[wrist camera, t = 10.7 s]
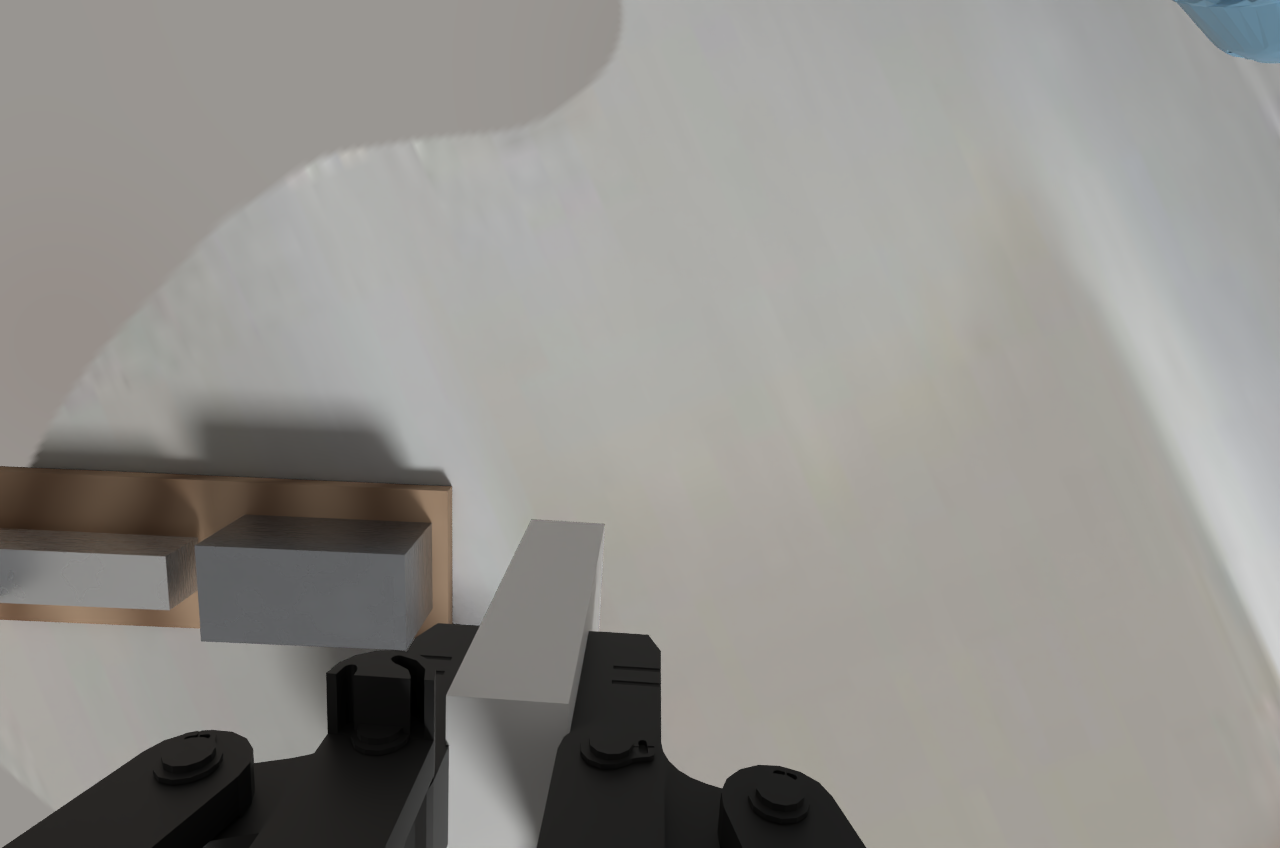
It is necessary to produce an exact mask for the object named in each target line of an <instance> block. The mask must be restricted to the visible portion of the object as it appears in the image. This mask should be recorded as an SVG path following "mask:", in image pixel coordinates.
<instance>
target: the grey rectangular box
mask: <svg viewBox="0 0 1280 848" xmlns="http://www.w3.org/2000/svg"><path fill="white" fill-rule="evenodd" d="M195 561H196V575H197V589H198V603H199V618H200V632H201V641H207V642H230V643H252V644H275V645H298V646H320V647H343V648H365V649H388V650H407V648H408V647H409V645H410V644H411V642H412V640H413V639H414V637H415V636H416V634H417V632H418V631H419V629H420V628H421V626H422V624H423V623H424V621H425V620H426V618H427V617H428V615H429V613H430V612H431V610H432V609H433V591H432V523H426V522H404V521H381V520H359V519H336V518H314V517H291V516H269V515H246V514H245V515H244V516H242V517H240V518H239V519H237V520H235V521H234V522H232V523H230V524H229V525H227V526H226V527H224V528H222V529H221V530H219V531H217V532H216V533H214V534H213V535H211V536H209V537H208V538H206V539H204V540H203V541H201V542H199V543H198V544H196V545H195Z"/></svg>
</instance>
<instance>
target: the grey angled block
mask: <svg viewBox="0 0 1280 848" xmlns="http://www.w3.org/2000/svg"><path fill="white" fill-rule="evenodd" d="M196 544H198V537H184V536H161V535H139V534H116V533H94V532H71V531H49V530H26V529H4V528H0V603H15V604H38V605H60V606H83V607H106V608H128V609H151V610H171V609H172V608H174V607H175V606H176V605H178V604H179V603H181V602H182V601H183V600H185V599H186V598H188V597H189V596H190V595H192V594H193V593H195V592H196V591H197V590H198V589H197V575H196V561H195V545H196Z"/></svg>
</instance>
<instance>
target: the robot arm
mask: <svg viewBox="0 0 1280 848" xmlns="http://www.w3.org/2000/svg"><path fill="white" fill-rule="evenodd" d="M1173 1H1175V2H1177V3H1178V4H1179V5H1180V7H1181V8H1182V9H1183V10H1184V11H1185V12H1186V13H1187V15H1188V16H1189V17H1190V18H1191V19H1192V20H1193V21H1194V23H1195V24H1196V25H1197V26H1198V27H1199V28H1200V29H1201V31H1202V32H1203V33H1204V34H1205V35H1206V36H1207V37H1208V39H1209V40H1210V41H1211V42H1212V43H1213V44H1214V45H1215V46H1216V47H1218V48H1219V49H1220V50H1222V51H1224V52H1225V53H1227V54H1229V55H1232V56H1235V57H1243V58H1246V59H1252V60H1254V61H1257V62H1261V63H1280V0H1173ZM604 532H605V524H597V523H582V522H567V521H552V520H537V519H531V521H530V523H529V525H528V528H527V530H526V532H525V534H524V536H523V538H522V540H521V542H520V544H519V546H518V548H517V550H516V552H515V554H514V556H513V558H512V561H511V563H510V565H509V567H508V569H507V571H506V573H505V575H504V577H503V579H502V581H501V583H500V585H499V587H498V589H497V591H496V593H495V596H494V598H493V600H492V602H491V604H490V606H489V608H488V610H487V612H486V614H485V616H484V618H483V620H482V622H481V624H480V626H474V625H460V624H445V623H437V624H436V625H434V626H433V627H431V628H429V629H428V630H426V631H425V632H423V633H422V634H420V635H419V636H417V637H416V638H415V640H414V641H413V643H412V644H411V646H410V648H409V649H408V651H407V652H405V651H400V650H386V651H374V652H369V653H364V654H360V655H356V656H353V657H351V658H349V659H346V660H344V661H342V662H340V663H338V664H337V665H336V666H334V667H333V668H332V669H331V670H330V671H328V672H327V673H326V680H327V720H328V734H327V736H326V737H325V738H324V740H323V741H322V743H321V744H320V746H319V747H318V749H317V750H316V752H315V753H313V754H310V755H305V756H300V757H296V758H290V759H282V760H275V761H268V762H261V763H254V758H253V748H252V746H251V745H250V743H249V741H248V740H247V738H245V737H242V736H240V735H238V734H236V733H234V732H228V731H217V730H205V731H200V732H198V731H195V732H190V733H186V734H183V735H180V736H177V737H174V738H171V739H168V740H164V741H162V742H161V743H159V744H157V745H155V746H153V747H151V748H149V749H147V750H146V751H144V752H142V753H141V754H139V755H138V756H136V757H135V758H133V759H132V760H130V761H129V762H127V763H126V764H124V765H123V766H121V767H120V768H119V769H117V770H116V771H114V772H113V773H111V774H110V775H108V776H107V777H105V778H104V779H102V780H101V781H99V782H98V783H96V784H95V785H94V786H92V787H91V788H89V789H88V790H86V791H85V792H83V793H82V794H80V795H79V796H77V797H76V798H74V799H73V800H71V801H70V802H69V803H67V804H66V805H64V806H63V807H61V808H60V809H58V810H57V811H55V812H54V813H52V814H51V815H49V816H48V817H47V818H45V819H44V820H42V821H41V822H39V823H38V824H36V825H35V826H33V827H32V828H30V829H29V830H27V831H26V832H24V833H23V834H22V835H20V836H19V837H17V838H16V839H14V840H13V841H11V842H10V843H8V844H7V845H5V846H4V847H2V848H866V847H865V845H864V844H863V842H862V841H861V839H860V838H859V836H858V835H857V833H856V832H855V830H854V829H853V827H852V826H851V824H850V823H849V821H848V820H847V818H846V817H845V815H844V814H843V812H842V811H841V809H840V808H839V806H838V804H837V803H836V801H835V800H834V798H833V797H832V796H831V795H830V794H829V793H828V792H827V791H826V789H825V788H824V787H823V786H822V785H821V784H820V783H819V782H817V781H815V780H813V779H812V778H810V777H808V776H806V775H805V774H803V773H801V772H799V771H795V770H792V769H788V768H785V767H781V766H768V765H757V766H752V767H748V768H744V769H740V770H739V771H737V772H736V773H734V774H733V775H731V776H730V777H729V778H727V780H726V782H725V784H724V786H723V789H722V788H718V787H715V786H712V785H708V784H705V783H703V782H700V781H698V780H695V779H693V778H690V777H689V776H687V775H686V774H684V773H682V772H681V771H679V770H678V769H677V768H676V767H675V766H674V765H672V764H671V763H670V762H669V761H668V759H667V757H666V756H665V754H664V752H663V749H662V744H661V672H660V671H661V651H660V650H659V648H658V647H657V646H656V644H655V643H654V642H653V641H652V639H651V638H650V637H649V635H642V634H627V633H612V632H599V624H600V606H601V587H602V569H603V550H604Z"/></svg>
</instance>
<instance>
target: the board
mask: <svg viewBox="0 0 1280 848" xmlns="http://www.w3.org/2000/svg"><path fill="white" fill-rule="evenodd" d="M245 514H246V515H269V516H291V517H314V518H336V519H359V520H381V521H404V522H426V523H432V591H433V609H432V610H431V612H430V613H429V615H428V617H427V618H426V620H425V621H424V623H423V624H422V626H421V628H420V629H419V631H418V632H417V634H416V636H415V637H414V638H416V637H417V636H419V635H420V634H422V633H423V632H425V631H426V630H428V629H429V628H431V627H433V626H434V625H436V624H437V623H445V624H452V486H433V485H410V484H388V483H365V482H343V481H320V480H298V479H275V478H252V477H230V476H207V475H185V474H162V473H140V472H117V471H95V470H72V469H50V468H27V467H5V466H0V528H4V529H26V530H49V531H71V532H94V533H116V534H139V535H161V536H184V537H198V543H199V542H201V541H203V540H204V539H206V538H208V537H209V536H211V535H213V534H214V533H216V532H217V531H219V530H221V529H222V528H224V527H226V526H227V525H229V524H230V523H232V522H234V521H235V520H237V519H239V518H240V517H242V516H244V515H245ZM0 620H22V621H44V622H67V623H89V624H112V625H135V626H157V627H180V628H200V618H199V603H198V590H197V591H196V592H195V593H193V594H192V595H190V596H189V597H188V598H186V599H185V600H183V601H182V602H181V603H179V604H178V605H176V606H175V607H174V608H172V609H171V610H151V609H128V608H106V607H83V606H60V605H38V604H15V603H0Z"/></svg>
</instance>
